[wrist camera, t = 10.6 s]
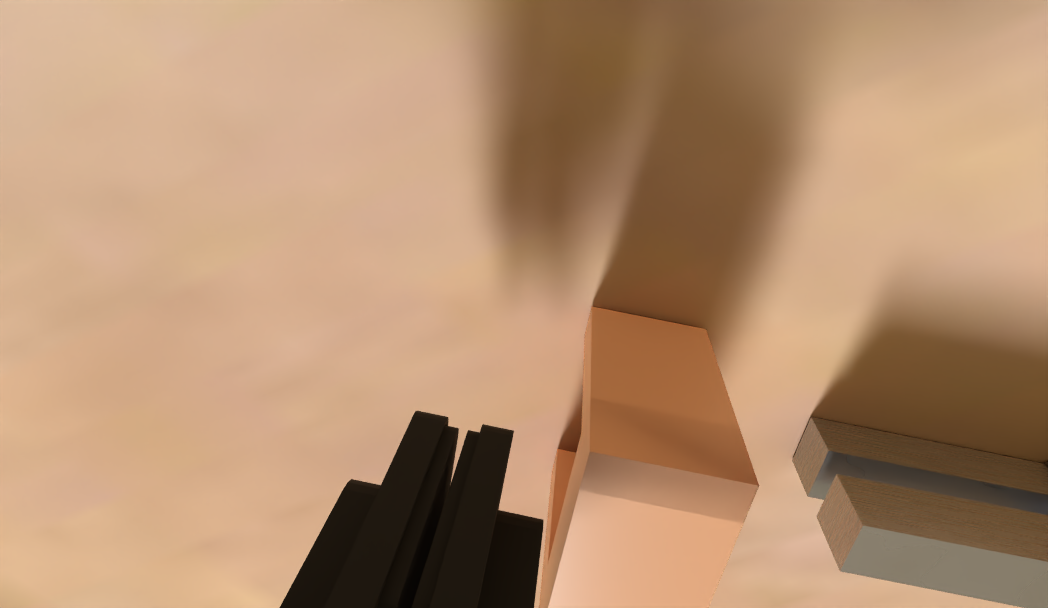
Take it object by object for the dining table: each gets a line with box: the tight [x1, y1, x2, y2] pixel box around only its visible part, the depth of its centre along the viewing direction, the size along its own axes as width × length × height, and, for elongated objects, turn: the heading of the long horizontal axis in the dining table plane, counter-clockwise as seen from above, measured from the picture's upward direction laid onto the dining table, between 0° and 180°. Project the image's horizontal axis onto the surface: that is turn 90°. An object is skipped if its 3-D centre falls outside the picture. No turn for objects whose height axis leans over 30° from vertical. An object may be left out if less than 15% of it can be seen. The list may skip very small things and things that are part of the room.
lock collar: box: [539, 307, 759, 608], centre depth 12 cm, size 2×4×5 cm, turn 170°
